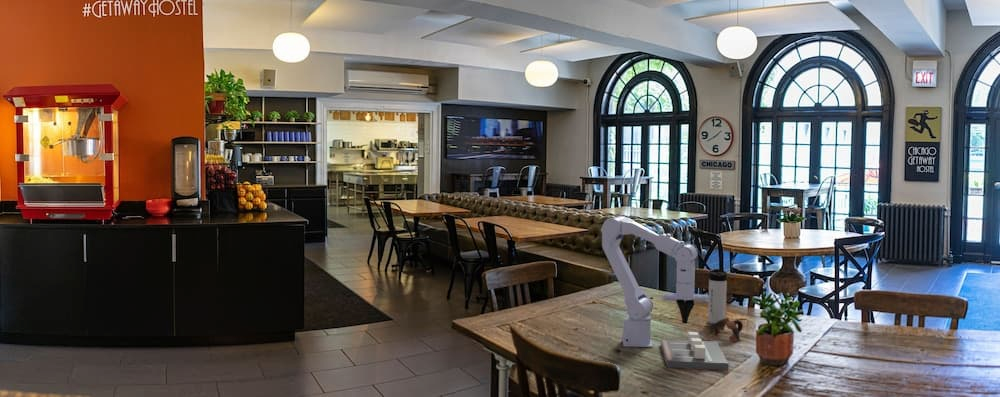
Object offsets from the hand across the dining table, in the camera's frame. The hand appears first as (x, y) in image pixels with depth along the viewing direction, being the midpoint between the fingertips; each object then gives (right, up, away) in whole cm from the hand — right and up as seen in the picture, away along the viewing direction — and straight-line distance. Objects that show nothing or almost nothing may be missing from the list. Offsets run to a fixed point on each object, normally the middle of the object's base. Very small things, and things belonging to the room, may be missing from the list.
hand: (684, 322), depth 229 cm
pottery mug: (+19, -8, +15) cm, 25 cm away
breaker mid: (+2, -8, -6) cm, 10 cm away
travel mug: (+21, -6, +33) cm, 40 cm away
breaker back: (+3, -7, +1) cm, 8 cm away
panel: (+1, -10, -5) cm, 11 cm away
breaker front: (+1, -8, -13) cm, 15 cm away
